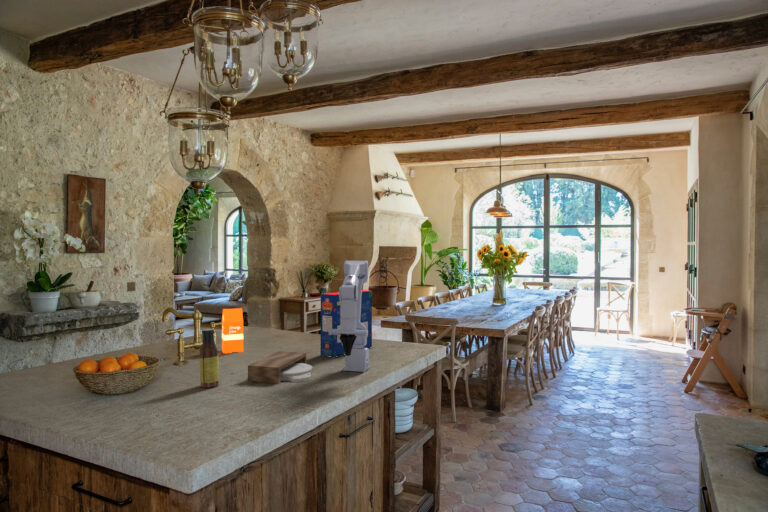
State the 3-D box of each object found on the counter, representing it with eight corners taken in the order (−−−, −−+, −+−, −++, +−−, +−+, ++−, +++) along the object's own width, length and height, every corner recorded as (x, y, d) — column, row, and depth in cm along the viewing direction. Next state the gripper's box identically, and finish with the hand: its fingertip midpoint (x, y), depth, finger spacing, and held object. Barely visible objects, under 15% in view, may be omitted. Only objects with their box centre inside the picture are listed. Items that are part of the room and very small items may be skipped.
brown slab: (306, 366, 204) (306, 352, 204) (278, 383, 178) (278, 367, 178) (278, 365, 207) (279, 351, 206) (247, 381, 181) (247, 365, 181)
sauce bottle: (222, 384, 177) (222, 328, 176) (211, 389, 171) (211, 331, 170) (207, 382, 179) (207, 327, 179) (195, 387, 173) (195, 330, 173)
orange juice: (221, 350, 235) (221, 308, 235) (240, 348, 239) (240, 307, 239) (223, 353, 228) (223, 310, 228) (243, 352, 232) (243, 309, 232)
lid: (282, 385, 177) (282, 377, 176) (259, 374, 192) (259, 366, 192) (324, 378, 187) (324, 370, 187) (299, 368, 203) (299, 360, 203)
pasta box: (358, 345, 248) (359, 289, 248) (371, 347, 243) (372, 290, 243) (320, 355, 225) (320, 293, 225) (333, 358, 221) (334, 294, 220)
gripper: (325, 318, 180) (325, 356, 180) (364, 320, 176) (364, 358, 176) (332, 316, 187) (332, 352, 187) (369, 317, 183) (369, 354, 183)
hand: (348, 355), depth 182 cm, fingers closed
